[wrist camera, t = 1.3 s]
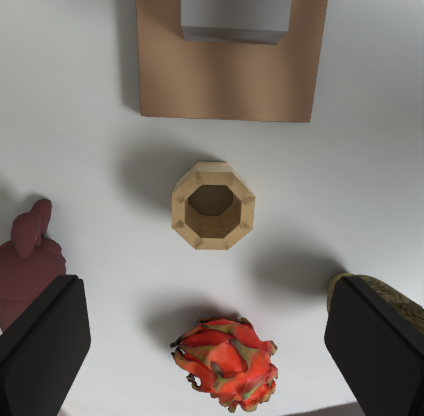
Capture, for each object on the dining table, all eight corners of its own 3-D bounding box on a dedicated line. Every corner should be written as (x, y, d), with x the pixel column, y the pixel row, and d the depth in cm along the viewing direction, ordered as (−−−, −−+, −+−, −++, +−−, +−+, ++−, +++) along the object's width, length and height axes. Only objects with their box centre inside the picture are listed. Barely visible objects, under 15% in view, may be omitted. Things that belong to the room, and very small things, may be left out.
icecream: (43, 377, 23) (79, 227, 21) (-62, 378, 21) (-38, 205, 18) (61, 324, 30) (90, 203, 27) (-17, 319, 27) (6, 185, 24)
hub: (246, 162, 24) (257, 172, 19) (241, 225, 26) (250, 250, 21) (178, 160, 24) (170, 170, 19) (178, 224, 26) (171, 249, 21)
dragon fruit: (269, 342, 33) (183, 306, 33) (302, 329, 26) (195, 285, 26) (256, 424, 28) (154, 382, 28) (294, 434, 21) (159, 379, 21)
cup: (325, 321, 30) (366, 387, 23) (296, 277, 28) (331, 332, 21) (384, 290, 29) (447, 348, 22) (358, 242, 27) (418, 287, 20)
